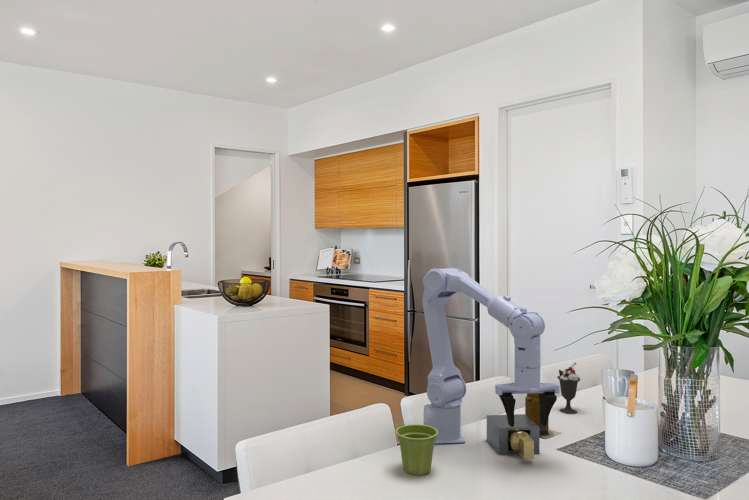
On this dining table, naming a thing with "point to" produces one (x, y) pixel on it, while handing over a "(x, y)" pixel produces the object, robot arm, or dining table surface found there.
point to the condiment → (537, 414)
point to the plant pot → (416, 447)
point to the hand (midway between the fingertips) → (527, 424)
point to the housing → (499, 432)
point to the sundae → (568, 387)
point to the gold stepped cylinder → (521, 443)
